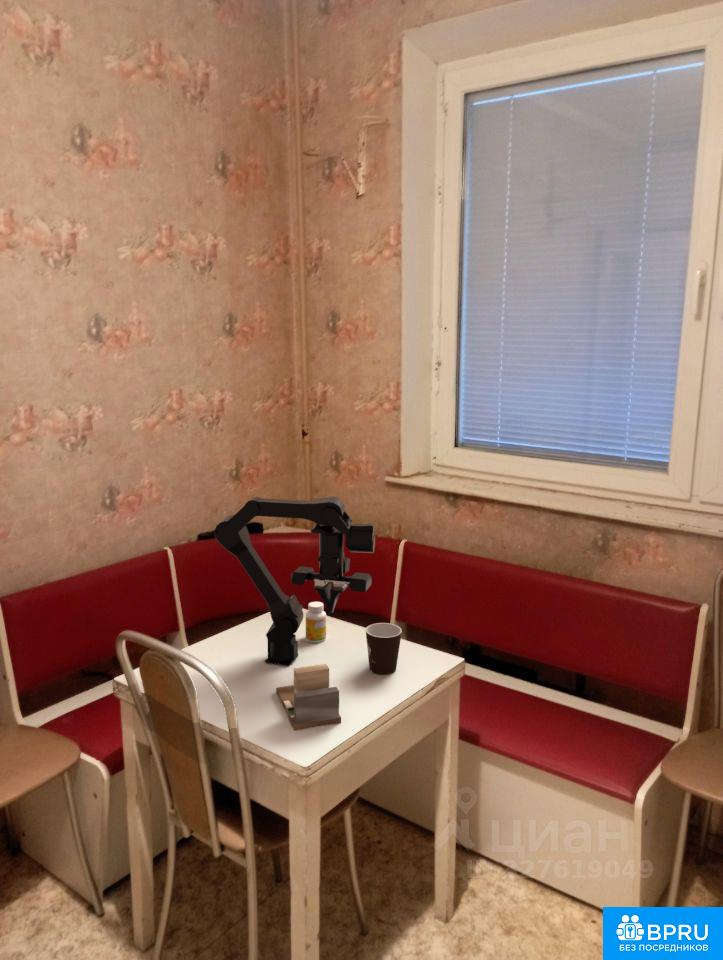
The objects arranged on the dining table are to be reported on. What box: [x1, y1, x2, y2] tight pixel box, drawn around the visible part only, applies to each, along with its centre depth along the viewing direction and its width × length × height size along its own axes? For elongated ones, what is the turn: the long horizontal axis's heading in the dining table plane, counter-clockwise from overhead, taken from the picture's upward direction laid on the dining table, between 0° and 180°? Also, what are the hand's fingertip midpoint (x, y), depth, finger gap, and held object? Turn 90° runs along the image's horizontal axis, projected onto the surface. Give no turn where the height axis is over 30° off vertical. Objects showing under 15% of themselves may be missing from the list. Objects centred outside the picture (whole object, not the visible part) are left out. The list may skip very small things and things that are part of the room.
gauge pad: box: [288, 663, 330, 711], centre depth 151 cm, size 2×9×9 cm, turn 109°
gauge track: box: [275, 684, 342, 731], centre depth 154 cm, size 16×10×7 cm, turn 19°
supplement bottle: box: [305, 601, 327, 644], centre depth 189 cm, size 5×5×10 cm
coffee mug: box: [365, 622, 403, 676], centre depth 174 cm, size 12×9×10 cm
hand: (330, 612), depth 174 cm, fingers closed
